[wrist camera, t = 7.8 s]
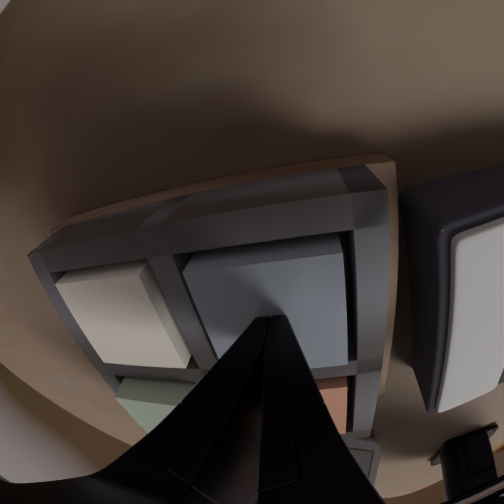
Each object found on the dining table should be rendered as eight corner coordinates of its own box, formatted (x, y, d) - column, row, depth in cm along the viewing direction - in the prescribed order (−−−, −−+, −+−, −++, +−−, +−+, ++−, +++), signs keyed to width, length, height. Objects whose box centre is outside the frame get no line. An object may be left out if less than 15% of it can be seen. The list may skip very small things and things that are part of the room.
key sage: (234, 412, 14) (225, 449, 12) (166, 408, 15) (154, 439, 13) (208, 365, 12) (195, 407, 10) (132, 362, 13) (114, 396, 11)
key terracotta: (343, 396, 13) (345, 433, 11) (264, 401, 14) (259, 437, 12) (342, 342, 11) (347, 386, 9) (246, 351, 12) (237, 393, 10)
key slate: (342, 318, 10) (347, 364, 8) (236, 328, 11) (224, 372, 9) (333, 216, 9) (342, 252, 7) (205, 235, 9) (182, 272, 8)
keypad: (379, 373, 15) (389, 433, 11) (158, 381, 18) (137, 429, 15) (382, 152, 9) (425, 185, 6) (69, 217, 13) (15, 257, 9)
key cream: (202, 327, 12) (186, 368, 10) (124, 328, 13) (103, 362, 11) (166, 239, 10) (138, 274, 8) (86, 254, 11) (54, 284, 9)
